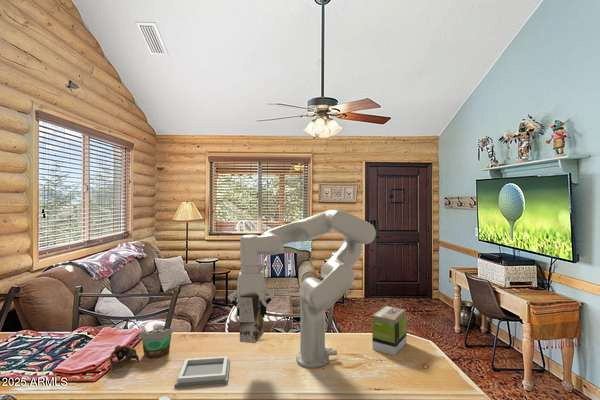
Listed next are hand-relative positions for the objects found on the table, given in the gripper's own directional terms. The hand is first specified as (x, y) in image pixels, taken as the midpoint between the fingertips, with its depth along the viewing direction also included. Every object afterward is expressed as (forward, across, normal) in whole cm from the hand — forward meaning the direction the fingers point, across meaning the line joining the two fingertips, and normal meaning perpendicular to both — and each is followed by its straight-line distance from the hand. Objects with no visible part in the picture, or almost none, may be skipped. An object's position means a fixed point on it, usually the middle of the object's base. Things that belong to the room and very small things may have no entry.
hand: (251, 316), depth 117 cm
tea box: (+21, -58, -11) cm, 63 cm away
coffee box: (+8, 0, 0) cm, 8 cm away
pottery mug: (+19, +48, -10) cm, 52 cm away
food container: (+19, +37, -16) cm, 44 cm away
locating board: (+19, +17, 0) cm, 25 cm away
